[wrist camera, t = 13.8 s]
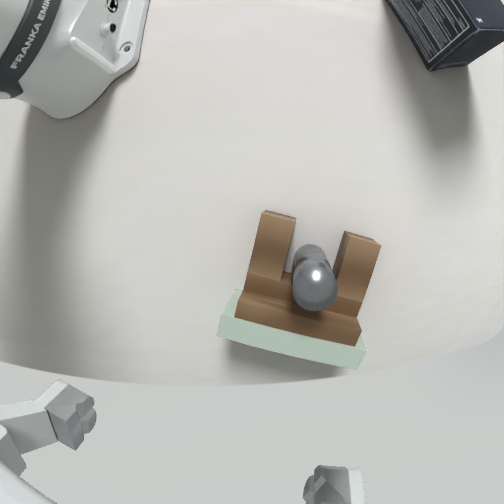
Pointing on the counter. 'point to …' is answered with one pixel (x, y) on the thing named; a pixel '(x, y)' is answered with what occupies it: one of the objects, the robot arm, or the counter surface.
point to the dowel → (313, 279)
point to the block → (281, 284)
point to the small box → (451, 29)
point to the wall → (287, 340)
